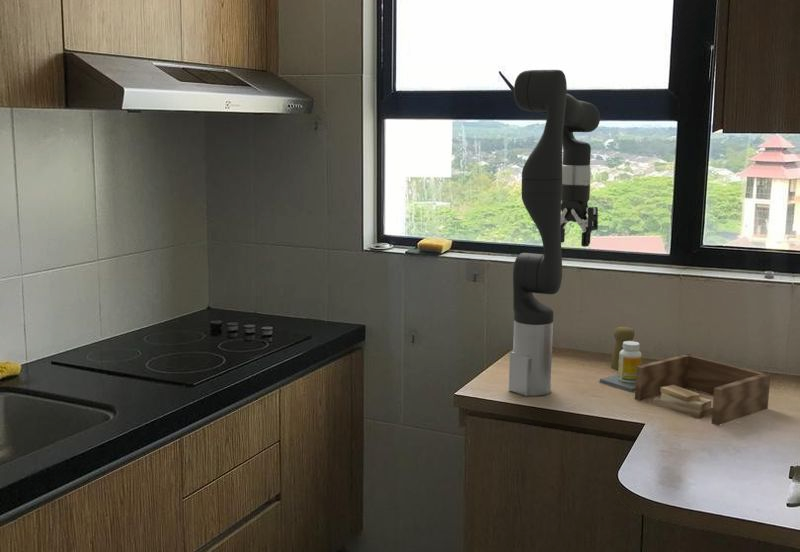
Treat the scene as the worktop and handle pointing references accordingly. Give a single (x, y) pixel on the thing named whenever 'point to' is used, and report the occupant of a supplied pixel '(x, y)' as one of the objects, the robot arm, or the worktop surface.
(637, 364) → the supplement bottle
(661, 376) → the walnut open frame
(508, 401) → the worktop surface
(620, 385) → the slate mat
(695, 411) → the offcut stack
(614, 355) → the cork
